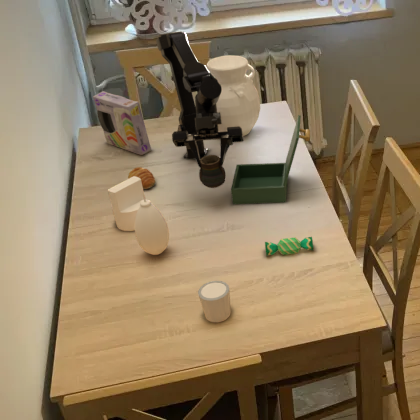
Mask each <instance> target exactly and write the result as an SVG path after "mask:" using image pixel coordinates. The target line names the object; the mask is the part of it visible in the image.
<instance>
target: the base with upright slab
mask: <svg viewBox="0 0 420 420" xmlns="http://www.w3.org/2000/svg"><path fill="white" fill-rule="evenodd" d="M107 192H108V193H107V194H108V196H109V200H110V204H111V209H112V214H113V216H114V220H115V224H116V227H117V229H119V230H120V231H123V232H132V231H133V232H135V218H136V214H137V211H138V209H139V207H140V202H141V201H143V200H144V198H143V193H144V194H145V192H144V189H143V186H142V182H141V179H140V178H138V177H135V176H133V177H131V178H129V179H128V178H127V179H125V180H124V181H122V182H119V183H117V184H116V185H114V186H112V187H110V188H108V189H107Z"/></svg>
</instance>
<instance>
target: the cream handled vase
mask: <svg viewBox="0 0 420 420" xmlns="http://www.w3.org/2000/svg"><path fill="white" fill-rule="evenodd" d="M206 68H207V69H208V71H209V72H211V74H212V75H213V76H214V77H215V78H216V79H217V80H218V83H219V84H220V85H221V88H222V91H221V94H220V97H219V99H218V102H217V103H216V106H217V113H219V112H220V114H221V121H222V124H218V131H219V132H226V131H227V127H238V126H239V127H241V128H242V132H243V137H245V136H247V135H248V134H249V133H250V132H251V131H252V130H253V128H254V127H255V126H256V123H257V121H258V120H259V116H260V112H261V99H260V96H259V92H258V89H257V88H256V86H255V83H254V78H255V75H256V70H255V69H254V67H253V66H252V65H251V64H249V60H248V59H247V58H246V57H244V56H242V55H233V54H231V55H229V54H228V55H227V54H226V55H220V56H216V57H213V58H211V59H209V60H208V61H207V63H206ZM249 70H250V74H247V71H249Z"/></svg>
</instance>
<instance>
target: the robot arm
mask: <svg viewBox="0 0 420 420" xmlns="http://www.w3.org/2000/svg"><path fill="white" fill-rule="evenodd" d="M188 39H189V38H188V36H187V32H185V31H182V30H178V31H173V32H167V33H161V34H159V35H158V37H157V38H156V40H155V42H156V47H157V49H158V51H159V52H160V54H161V57H162V58H163V59H164V60H165V61H166V62H167V63H168V64H169V68H170V71H171V75H172V79H173V83H174V87H175V91H176V95H177V98H178V102H179V107H180V113H179V116H178V123H179V124H178V126H177V130H176V131H173V132H172V133H171V140H172V143H173V144H174V146H175V147H176V148H180V147H181V148H182V147H185V149H186V152H185V153H184V155H183V159H190V160H195V161H196V163H197V166H198V168H199V169H200V168H201V164H200V160H201V158H203V157H204V156H207V155H208V152H209V151H210V149H209V148H206V147H205V143H204V141H211V140H213V141H214V140H220V152H219V157H220V165H221V166H223V165H224V163H225V158H226V156H227V152H228V150H229V148H230V146H233V145H234V143H242V142H244V136H243V132H242V128H241V127H239V126H238V127H227V131H226V132H219V131H218V124H222V121H221V114H220V112H219V113H217V106H216V103H217V102H218V99H219V97H220V94H221V91H222V88H221V85H220V84H219V83H218V80H217V79H216V78H215V77H214V76H213V75H212V74H211V72H209V71H208V68H207V65H205V64H203V63H201V62H199V61H198V59H197V57H196V55H195V54H194V52H193V50H192V48H191V46H190V44H189V40H188ZM195 92H197V93H196V94H195V95H194V96H193V93H195Z"/></svg>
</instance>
